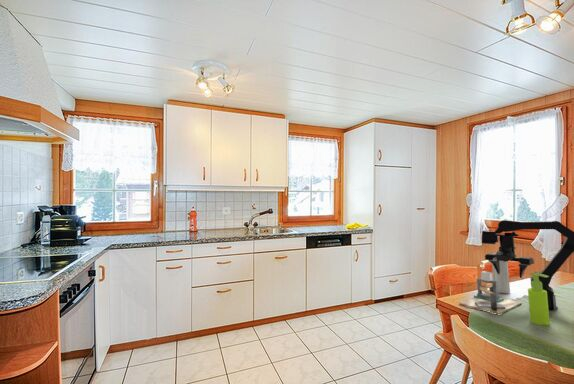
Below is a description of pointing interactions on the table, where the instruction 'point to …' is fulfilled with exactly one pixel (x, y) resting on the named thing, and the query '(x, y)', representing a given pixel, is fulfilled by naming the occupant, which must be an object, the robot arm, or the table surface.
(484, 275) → the grey boxy piece
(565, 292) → the table surface
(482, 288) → the wooden crank handle
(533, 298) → the soap dispenser
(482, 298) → the beige rectangular panel
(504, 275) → the paper towel roll
